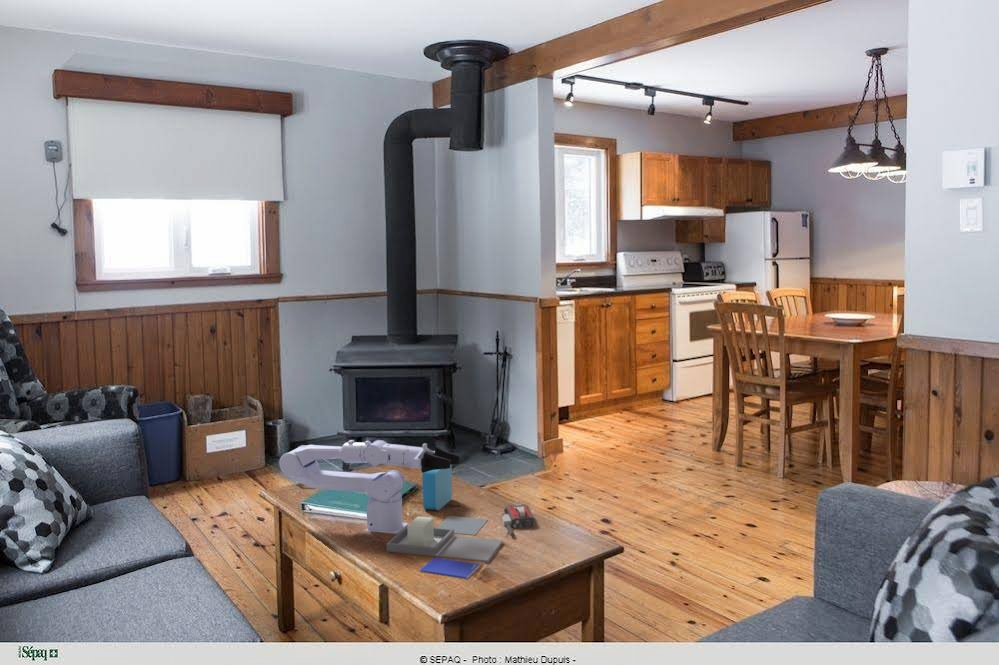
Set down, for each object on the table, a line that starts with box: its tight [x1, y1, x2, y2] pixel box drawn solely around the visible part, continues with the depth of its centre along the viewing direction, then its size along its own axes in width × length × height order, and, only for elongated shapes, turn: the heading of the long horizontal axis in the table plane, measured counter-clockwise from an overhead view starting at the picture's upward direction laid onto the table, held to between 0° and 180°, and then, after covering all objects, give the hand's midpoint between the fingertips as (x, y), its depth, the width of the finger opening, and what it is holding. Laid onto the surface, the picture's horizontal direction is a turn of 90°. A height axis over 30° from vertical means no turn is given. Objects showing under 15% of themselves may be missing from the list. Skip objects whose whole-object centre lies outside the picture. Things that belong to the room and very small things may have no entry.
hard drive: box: [419, 557, 481, 580], centre depth 192 cm, size 2×8×12 cm
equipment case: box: [385, 524, 504, 564], centre depth 206 cm, size 27×14×2 cm, turn 74°
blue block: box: [421, 465, 453, 511], centre depth 238 cm, size 12×4×12 cm, turn 161°
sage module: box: [407, 515, 435, 546], centre depth 207 cm, size 4×7×6 cm, turn 164°
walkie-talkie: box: [501, 503, 536, 537], centre depth 222 cm, size 9×4×20 cm
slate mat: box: [436, 515, 489, 536], centre depth 220 cm, size 12×12×1 cm
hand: (454, 462), depth 212 cm, fingers open, 7 cm apart
